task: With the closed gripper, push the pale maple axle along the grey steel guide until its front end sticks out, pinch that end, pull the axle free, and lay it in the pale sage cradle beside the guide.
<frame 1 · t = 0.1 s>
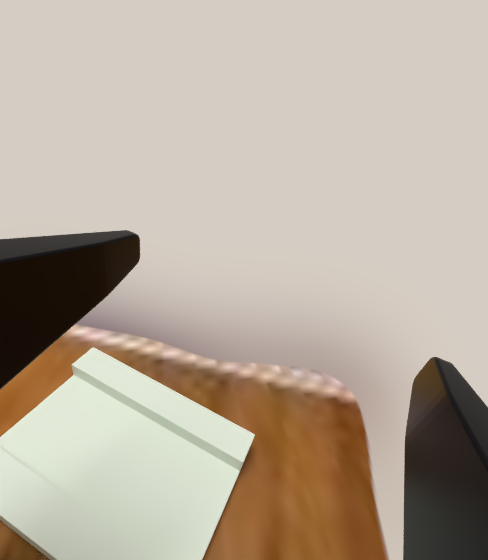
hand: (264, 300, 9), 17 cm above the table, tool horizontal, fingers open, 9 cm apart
sage cradle: (119, 465, 19), on the table
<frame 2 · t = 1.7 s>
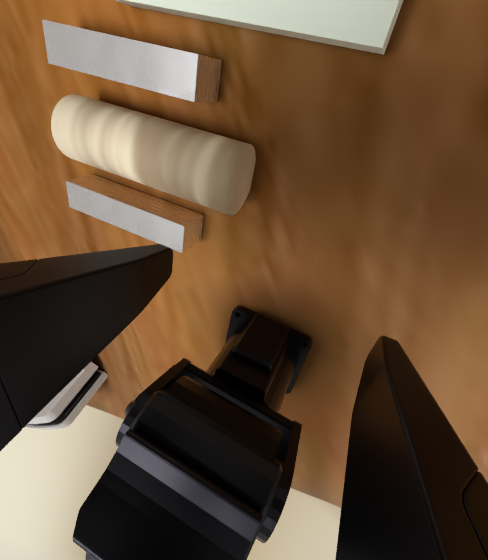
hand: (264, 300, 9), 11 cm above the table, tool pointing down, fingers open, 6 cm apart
maple axle: (172, 151, 20), on the table
steel guide: (145, 143, 21), on the table
hinge: (64, 356, 42), on the table
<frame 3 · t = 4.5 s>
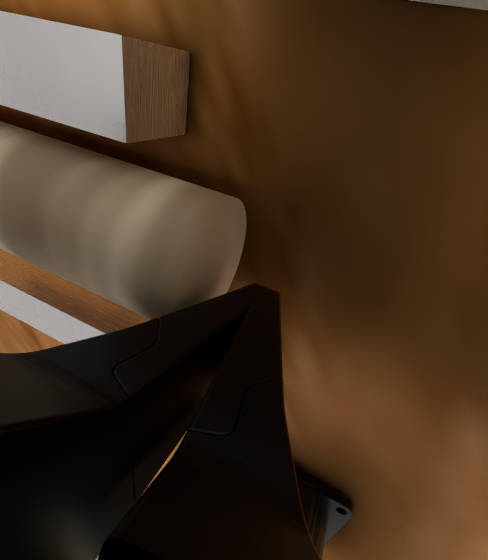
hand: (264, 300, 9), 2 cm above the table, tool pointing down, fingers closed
maple axle: (100, 210, 12), on the table, tilted 22°, touching gripper
steel guide: (74, 198, 12), on the table
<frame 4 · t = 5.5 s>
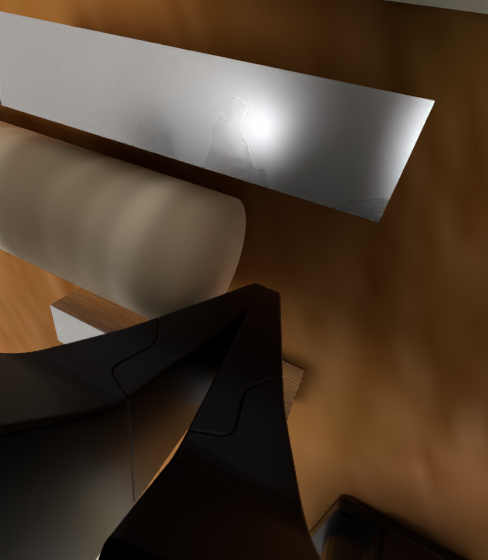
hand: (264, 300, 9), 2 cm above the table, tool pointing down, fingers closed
maple axle: (100, 209, 12), on the table, tilted 22°, touching gripper
steel guide: (199, 246, 11), on the table
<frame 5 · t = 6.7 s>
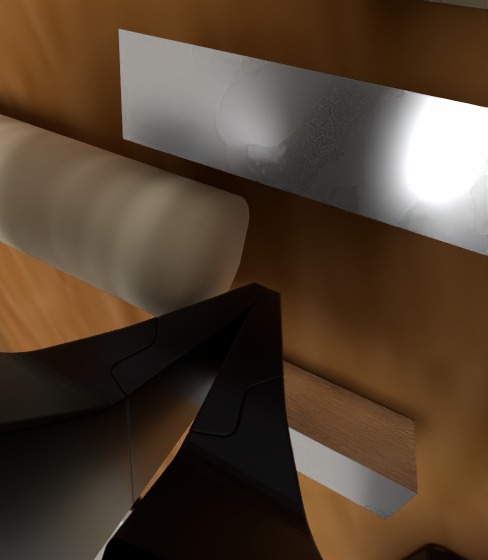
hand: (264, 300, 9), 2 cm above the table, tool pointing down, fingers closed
maple axle: (103, 206, 12), on the table, tilted 21°
steel guide: (307, 287, 10), on the table
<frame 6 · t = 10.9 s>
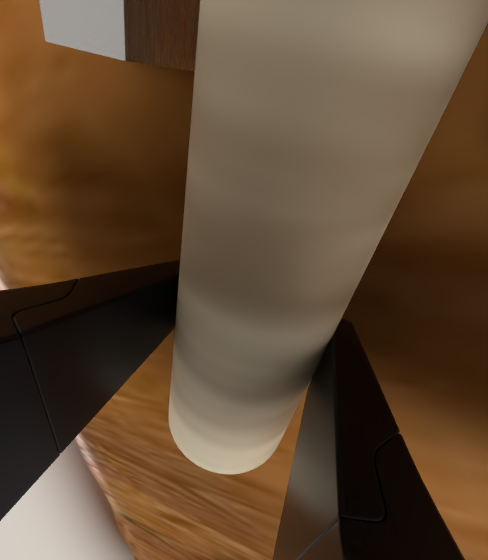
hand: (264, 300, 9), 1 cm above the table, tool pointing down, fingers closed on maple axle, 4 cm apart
maple axle: (289, 239, 9), on the table, touching gripper
when the fingers open (3 cm above the table, at t = 17.2 s): maple axle drops 1 cm, resting on sage cradle.
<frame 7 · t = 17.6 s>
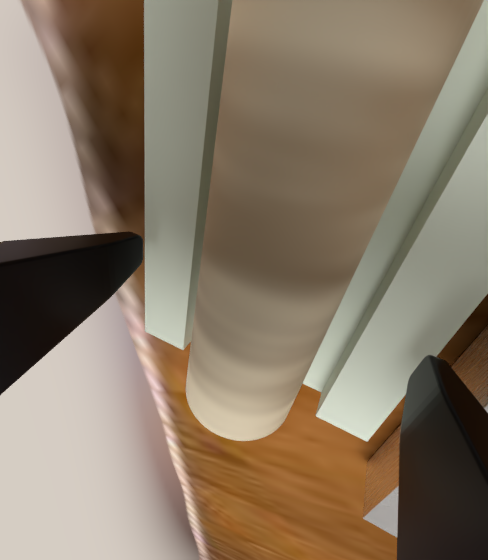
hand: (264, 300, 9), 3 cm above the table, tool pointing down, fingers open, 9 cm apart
maple axle: (299, 228, 10), point 1 cm above the table, touching sage cradle
sage cradle: (308, 206, 10), on the table
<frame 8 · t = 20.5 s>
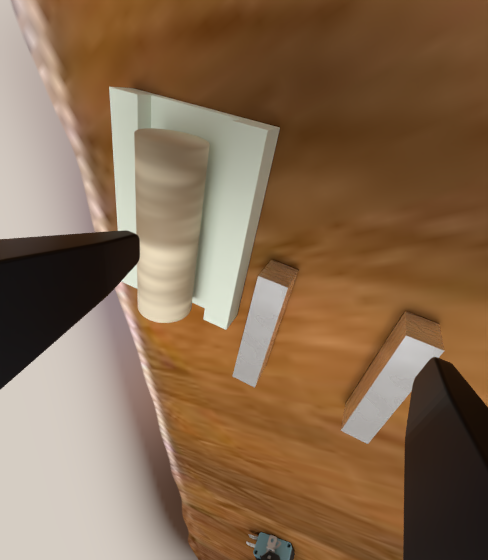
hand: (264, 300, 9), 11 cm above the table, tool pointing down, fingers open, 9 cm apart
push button: (272, 537, 42), on the table
maple axle: (185, 225, 22), point 1 cm above the table, touching sage cradle
sage cradle: (191, 215, 22), on the table
steel guide: (324, 342, 22), on the table
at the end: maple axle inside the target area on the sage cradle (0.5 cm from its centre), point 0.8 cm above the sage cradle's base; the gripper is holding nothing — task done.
